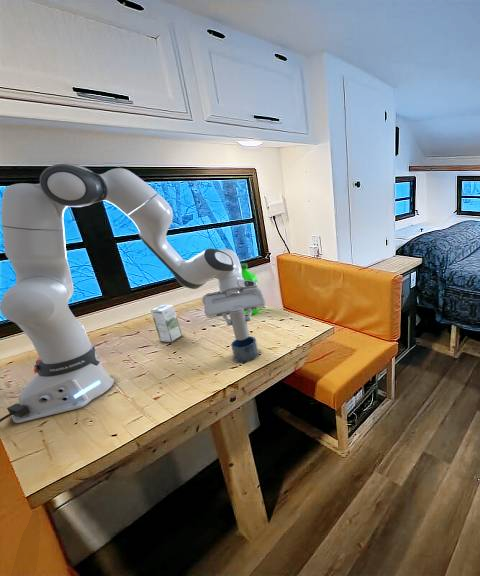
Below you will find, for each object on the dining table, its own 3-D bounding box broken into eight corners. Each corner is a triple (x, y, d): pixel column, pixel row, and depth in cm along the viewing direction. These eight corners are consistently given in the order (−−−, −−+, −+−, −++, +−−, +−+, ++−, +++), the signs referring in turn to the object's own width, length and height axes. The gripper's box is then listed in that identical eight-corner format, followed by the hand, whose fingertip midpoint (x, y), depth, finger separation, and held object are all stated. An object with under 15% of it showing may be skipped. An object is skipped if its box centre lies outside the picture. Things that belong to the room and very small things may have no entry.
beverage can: (244, 341, 110) (237, 311, 105) (232, 340, 110) (225, 310, 106) (252, 334, 114) (246, 305, 110) (240, 333, 115) (234, 305, 111)
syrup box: (171, 334, 132) (162, 304, 127) (183, 335, 131) (173, 305, 126) (160, 341, 127) (149, 309, 122) (171, 342, 126) (161, 310, 121)
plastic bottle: (266, 308, 156) (258, 261, 147) (255, 317, 146) (245, 267, 137) (249, 307, 157) (239, 261, 149) (236, 316, 148) (225, 267, 139)
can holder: (236, 364, 109) (233, 350, 107) (232, 354, 116) (229, 340, 114) (260, 357, 114) (258, 343, 112) (255, 347, 120) (252, 334, 118)
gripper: (199, 290, 107) (204, 326, 102) (260, 280, 116) (268, 313, 111) (203, 298, 113) (208, 332, 108) (261, 288, 121) (268, 319, 116)
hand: (239, 322), depth 109 cm, fingers closed on beverage can, 5 cm apart
